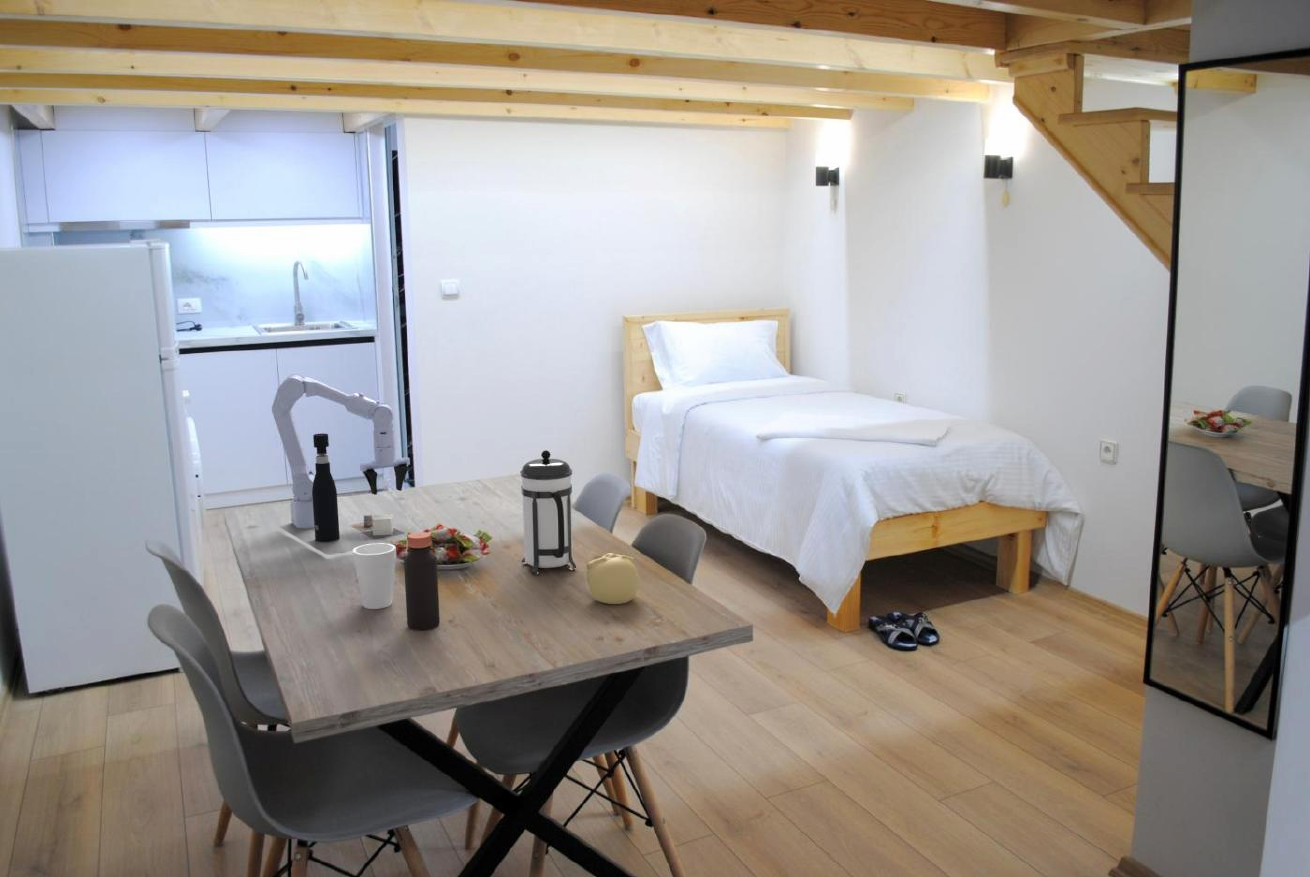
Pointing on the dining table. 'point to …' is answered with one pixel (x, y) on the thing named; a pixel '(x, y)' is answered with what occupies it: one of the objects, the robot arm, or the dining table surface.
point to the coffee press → (547, 513)
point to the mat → (370, 534)
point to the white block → (383, 524)
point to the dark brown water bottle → (421, 583)
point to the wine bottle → (324, 495)
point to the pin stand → (365, 523)
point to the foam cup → (375, 573)
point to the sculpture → (613, 578)
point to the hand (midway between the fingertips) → (386, 492)
